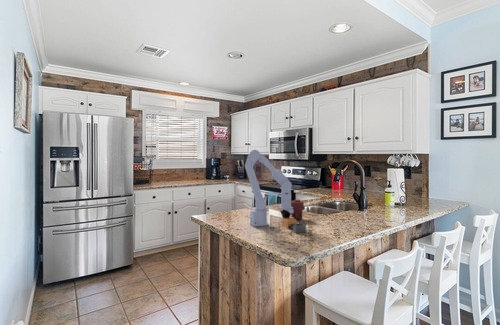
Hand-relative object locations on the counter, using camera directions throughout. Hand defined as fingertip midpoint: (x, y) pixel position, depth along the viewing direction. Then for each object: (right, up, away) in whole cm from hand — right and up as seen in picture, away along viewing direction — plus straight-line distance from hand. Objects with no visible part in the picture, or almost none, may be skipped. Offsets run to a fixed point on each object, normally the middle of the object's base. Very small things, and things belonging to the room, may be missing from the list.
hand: (285, 222), depth 159 cm
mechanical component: (+9, -1, +14) cm, 17 cm away
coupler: (+4, -1, -11) cm, 12 cm away
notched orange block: (+2, -1, -4) cm, 5 cm away
